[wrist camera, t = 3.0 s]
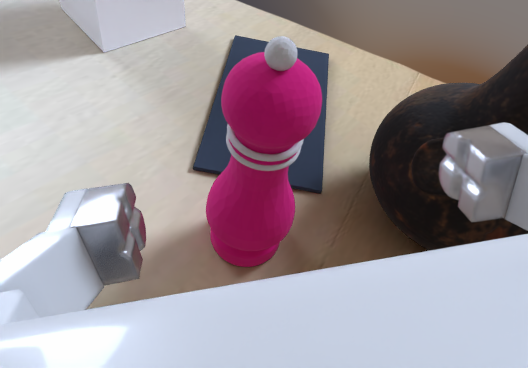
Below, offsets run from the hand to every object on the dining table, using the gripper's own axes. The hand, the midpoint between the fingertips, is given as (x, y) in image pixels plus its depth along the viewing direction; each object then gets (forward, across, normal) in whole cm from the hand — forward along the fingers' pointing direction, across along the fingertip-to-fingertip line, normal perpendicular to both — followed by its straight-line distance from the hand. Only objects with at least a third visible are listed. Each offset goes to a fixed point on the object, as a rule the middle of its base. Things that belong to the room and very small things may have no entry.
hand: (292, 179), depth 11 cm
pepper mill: (+19, +2, +18) cm, 27 cm away
